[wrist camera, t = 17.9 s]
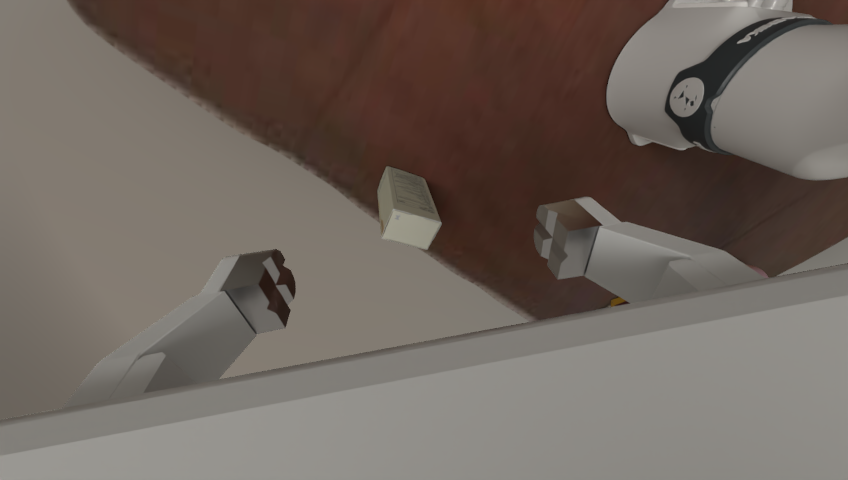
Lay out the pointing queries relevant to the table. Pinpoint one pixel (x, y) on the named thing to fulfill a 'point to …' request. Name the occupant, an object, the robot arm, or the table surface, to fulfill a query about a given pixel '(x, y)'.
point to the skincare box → (406, 209)
